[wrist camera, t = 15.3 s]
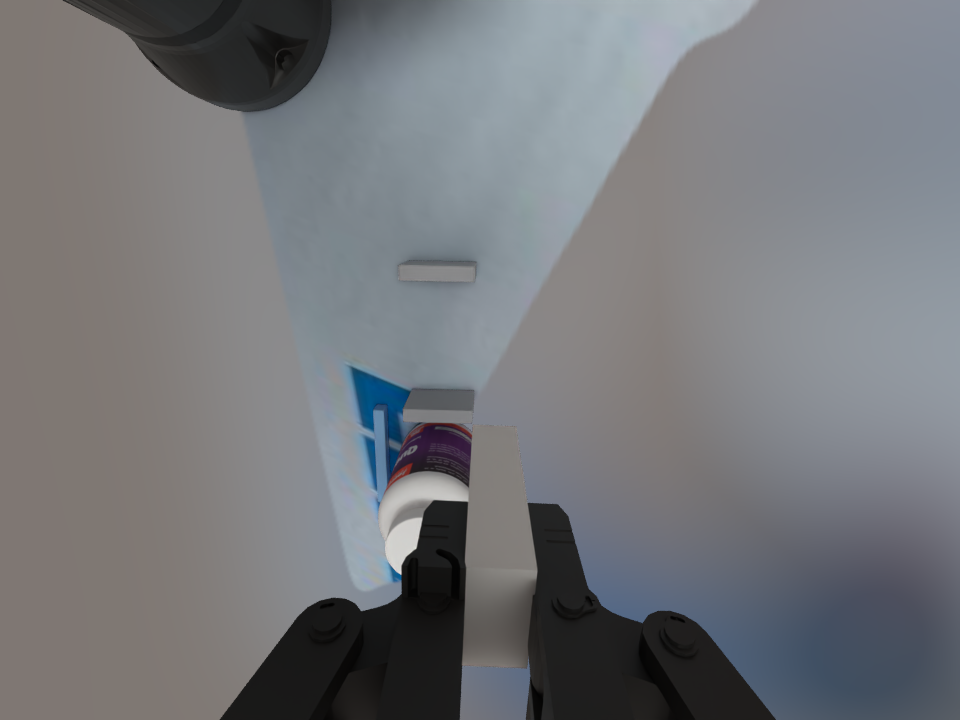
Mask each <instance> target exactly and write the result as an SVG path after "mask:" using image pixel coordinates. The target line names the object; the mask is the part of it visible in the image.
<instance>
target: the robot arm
mask: <svg viewBox="0 0 960 720" xmlns="http://www.w3.org/2000/svg"><path fill="white" fill-rule="evenodd" d="M63 1H65V2H67V3H69V4H71V5H73V6H75V7H77V8H79V9H81V10H83V11H85V12H86V13H88V14H90V15H92V16H94V17H96V18H98V19H100V20H102V21H104V22H106V23H108V24H110V25H112V26H114V27H116V28H118V29H120V30H122V31H124V32H125V33H126V34H127V35H128V36H129V37H130V38H131V39H132V40H133V41H134V42H135V43H136V45H137V46H138V48H139V49H140V50H141V51H142V53H143V54H144V55H145V57H146V58H147V59H148V60H149V61H150V62H151V63H152V64H153V65H154V67H155V68H156V69H157V70H159V72H160V73H162V74H163V75H164V76H165V77H166V78H167V79H169V80H170V81H171V82H173V83H174V84H175V85H177V86H178V87H180V88H181V89H183V90H184V91H186V92H188V93H190V94H192V95H194V96H196V97H198V98H200V99H203V100H205V101H207V102H209V103H212V104H214V105H217V106H219V107H223V108H226V109H231V110H237V111H257V110H263V109H267V108H271V107H274V106H276V105H279V104H281V103H283V102H285V101H286V100H288V99H290V98H291V97H293V96H294V95H295V94H297V93H298V92H299V91H300V90H301V89H302V88H303V87H304V86H305V85H306V84H307V83H308V81H309V80H310V79H311V77H312V76H313V75H314V73H315V71H316V70H317V68H318V66H319V64H320V62H321V60H322V58H323V55H324V52H325V49H326V46H327V42H328V38H329V33H330V25H331V0H63ZM401 576H402V594H401V595H400V596H399V597H398V598H397V599H396V600H394V601H392V602H390V603H388V604H386V605H383V606H380V607H377V608H373V609H369V610H365V611H360V609H359V608H358V607H357V605H356V604H355V603H353V602H351V601H349V600H347V599H342V598H330V599H325V600H321V601H319V602H317V603H315V604H313V605H311V606H309V607H307V609H306V610H304V611H303V612H302V613H301V614H300V615H299V616H298V617H297V618H296V620H295V621H294V623H293V624H292V625H291V627H290V628H289V629H288V631H287V632H286V633H285V634H284V636H283V637H282V638H281V640H280V641H279V642H278V644H277V645H276V646H275V647H274V649H273V650H272V652H271V653H270V654H269V655H268V657H267V658H266V659H265V661H264V662H263V663H262V665H261V666H260V668H259V669H258V670H257V671H256V673H255V674H254V675H253V677H252V678H251V679H250V680H249V682H248V683H247V684H246V686H245V687H244V688H243V690H242V691H241V693H240V694H239V695H238V697H237V698H236V699H235V700H234V702H233V703H232V704H231V706H230V707H229V708H228V709H227V711H226V712H225V713H224V715H223V716H222V717H221V719H220V720H460V700H461V678H462V666H483V667H504V668H527V665H528V655H529V664H530V675H531V677H530V686H529V695H528V704H527V714H526V720H776V719H775V718H774V717H773V715H772V714H771V713H770V711H769V710H768V709H767V708H766V706H765V705H764V704H763V703H762V701H761V700H760V699H759V698H758V696H757V695H756V694H755V693H754V691H753V690H752V689H751V688H750V686H749V685H748V684H747V683H746V681H745V680H744V679H743V677H742V676H741V675H740V674H739V673H738V671H737V670H736V669H735V667H734V666H733V665H732V664H731V662H730V661H729V660H728V659H727V657H726V656H725V655H724V654H723V652H722V651H721V650H720V649H719V647H718V646H717V645H716V643H715V642H714V641H713V640H712V638H711V637H710V636H709V635H708V634H707V632H706V631H705V630H704V629H702V628H701V627H700V626H699V625H698V624H697V623H696V622H694V621H693V620H691V619H689V618H688V617H686V616H684V615H682V614H679V613H675V612H672V611H657V612H654V613H652V614H650V615H648V616H647V618H646V619H645V621H644V622H643V623H640V622H637V621H634V620H630V619H628V618H624V617H622V616H619V615H617V614H614V613H612V612H610V611H609V610H607V609H606V608H604V607H603V606H601V604H600V602H599V600H598V599H597V597H596V595H595V594H594V593H592V592H591V591H590V590H589V589H588V586H587V583H586V579H585V575H584V572H583V568H582V565H581V561H580V557H579V554H578V550H577V546H576V544H575V539H574V536H573V533H572V528H571V525H570V521H569V517H568V516H567V514H566V513H565V512H564V511H563V510H562V509H561V508H560V506H559V505H557V504H539V503H527V496H526V490H525V483H524V476H523V469H522V463H521V456H520V450H519V442H518V435H517V428H516V427H515V426H494V425H473V431H472V446H471V464H470V481H469V498H468V502H467V501H445V500H433V501H432V503H431V504H430V505H429V506H428V507H427V508H426V509H425V511H424V514H423V519H422V523H421V528H420V533H419V538H418V543H417V548H416V549H415V550H413V551H412V552H411V553H410V554H409V555H407V556H406V558H405V560H404V562H403V563H402V565H401Z"/></svg>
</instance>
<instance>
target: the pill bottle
mask: <svg viewBox="0 0 960 720" xmlns="http://www.w3.org/2000/svg"><path fill="white" fill-rule="evenodd" d="M471 446H472V432H471V430H469V429H468V428H467V427H466V426H464V425H463V424H461V423H424V422H423V423H421V424H419V425H418V426H416V427H415V428H414V429H412V430H411V432H410V433H409V434H408V435H407V437H406V438H405V440H404V443H403V445H402V447H401V450H400V453H399V456H398V458H397V461H396V464H395V466H394V469H393V471H392V474H391V477H390V480H389V482H388V485H387V487H386V490H385V493H384V495H383V498H382V501H381V503H380V507H379V513H378V522H379V527H380V531H381V534H382V536H383V538H384V540H385V541H386V543H385V552H386V557H387V559H388V561H389V563H390V565H391V566H392V567H393V568H394V570H395V571H397V572H398V573H399V574H401V565H402V563H403V562H404V560H405V558H406V556H407V555H409V554H410V553H411V552H412V551H413V550H415V549H416V548H417V543H418V538H419V533H420V528H421V523H422V519H423V514H424V511H425V509H426V508H427V507H428V506H429V505H430V504H431V503H432V501H433V500H445V501H467V502H468V498H469V481H470V464H471Z"/></svg>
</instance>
